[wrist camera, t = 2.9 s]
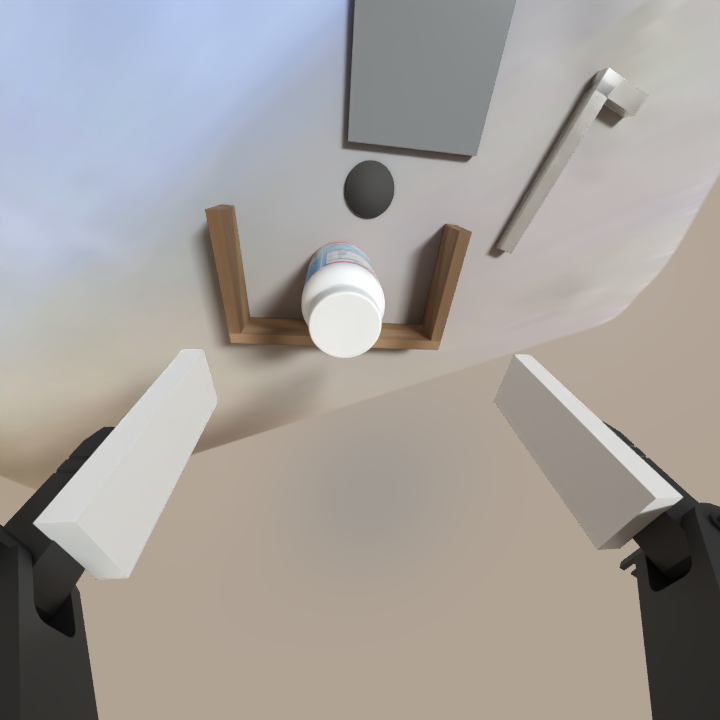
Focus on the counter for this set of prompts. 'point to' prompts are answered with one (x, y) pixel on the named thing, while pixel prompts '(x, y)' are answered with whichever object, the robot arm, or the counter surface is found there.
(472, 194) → the counter surface
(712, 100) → the counter surface
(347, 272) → the pill bottle
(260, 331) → the cubby
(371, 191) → the disc
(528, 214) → the crook tool
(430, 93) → the coaster
